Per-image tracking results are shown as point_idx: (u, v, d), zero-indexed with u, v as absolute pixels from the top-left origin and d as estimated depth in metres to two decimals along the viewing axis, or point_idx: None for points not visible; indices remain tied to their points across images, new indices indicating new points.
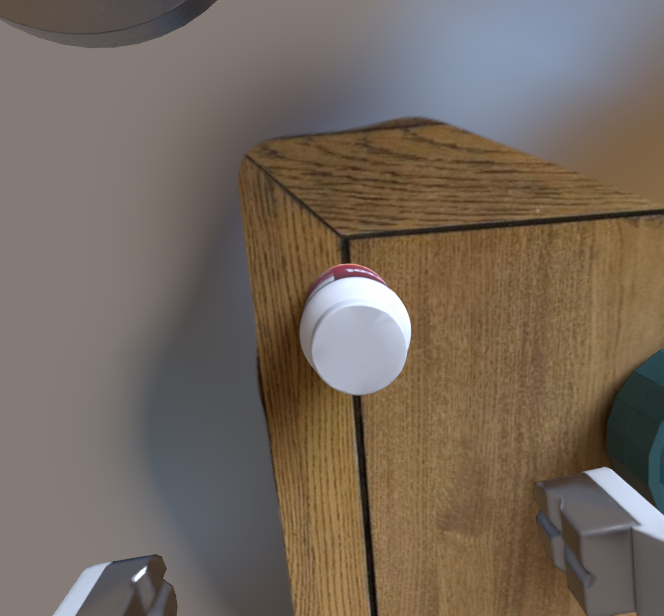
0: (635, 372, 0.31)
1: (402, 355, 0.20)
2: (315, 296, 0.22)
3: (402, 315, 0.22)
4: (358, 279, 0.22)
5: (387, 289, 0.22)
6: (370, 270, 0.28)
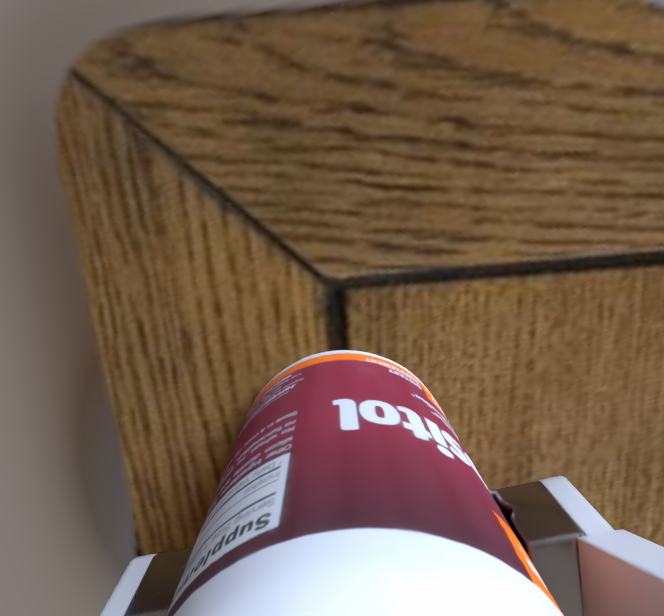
0: None
1: None
2: None
3: None
4: (387, 570, 0.05)
5: (526, 614, 0.05)
6: (402, 377, 0.11)
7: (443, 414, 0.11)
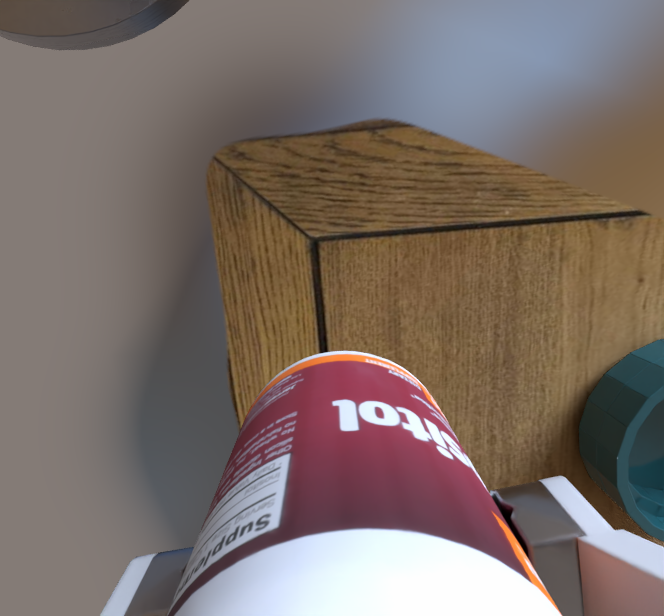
0: (607, 375, 0.31)
1: None
2: None
3: None
4: (386, 570, 0.05)
5: (525, 614, 0.05)
6: (401, 377, 0.11)
7: (442, 415, 0.11)
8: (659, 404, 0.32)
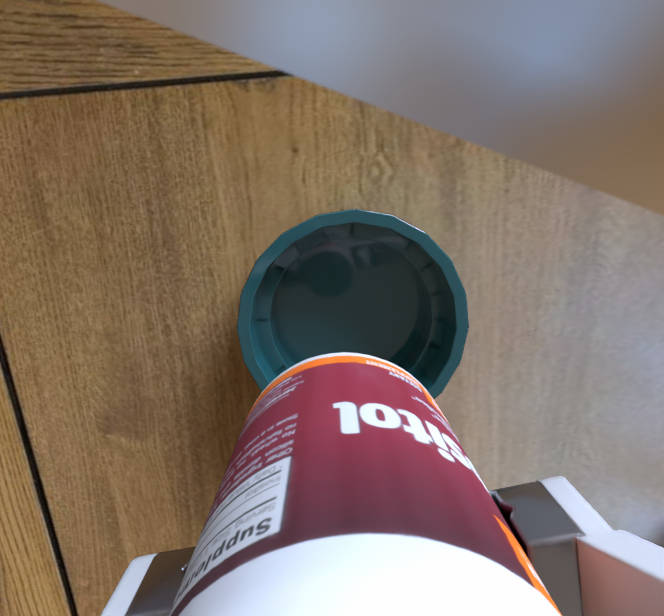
0: None
1: None
2: None
3: None
4: (388, 576, 0.05)
5: None
6: (402, 379, 0.11)
7: (443, 416, 0.11)
8: (331, 288, 0.30)
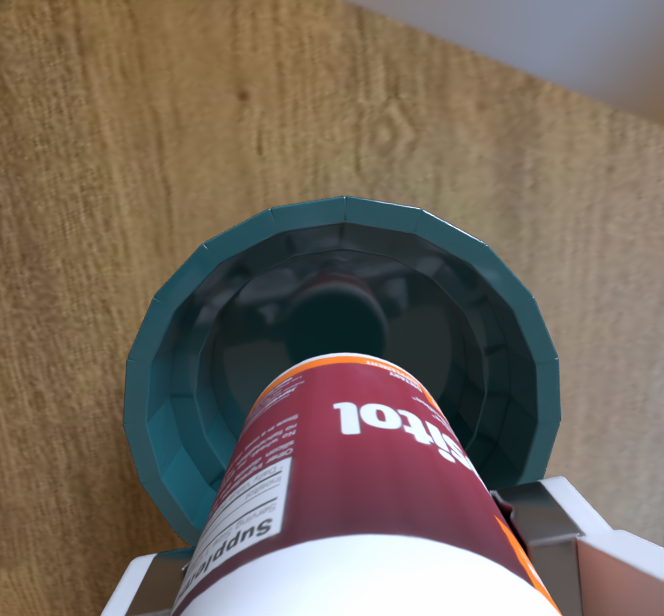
0: None
1: None
2: None
3: None
4: (389, 577, 0.05)
5: None
6: (402, 380, 0.11)
7: (444, 417, 0.11)
8: (308, 334, 0.18)
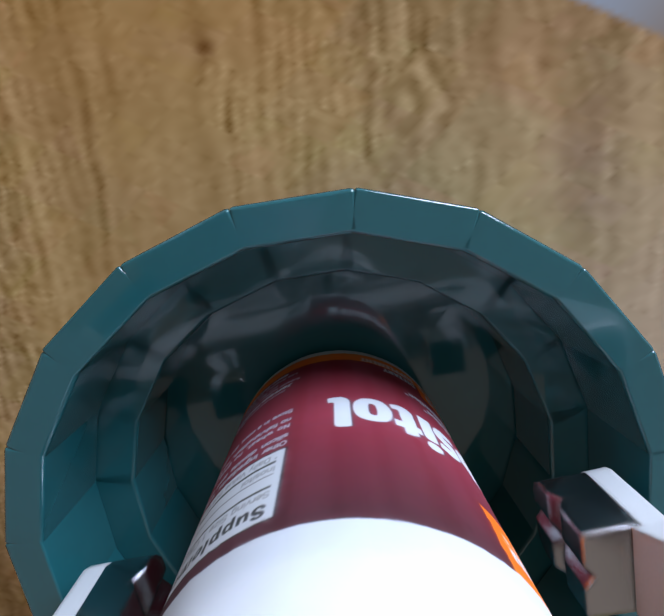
0: None
1: None
2: None
3: None
4: (374, 556, 0.05)
5: (506, 598, 0.05)
6: (396, 376, 0.11)
7: (436, 413, 0.11)
8: None
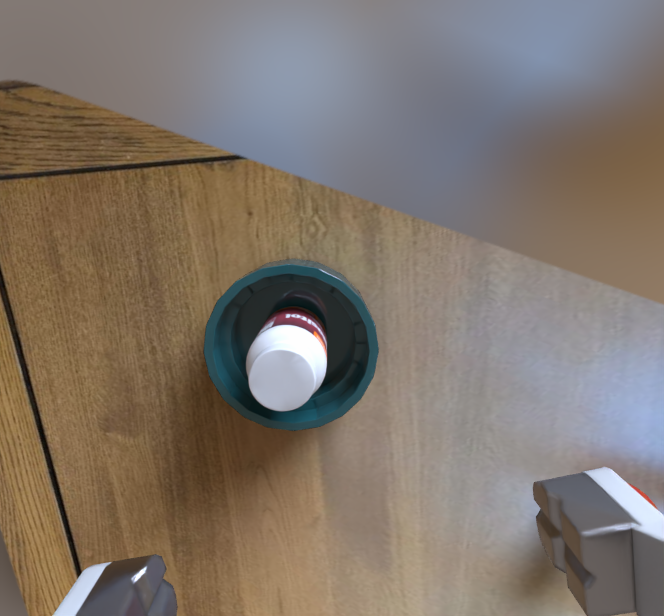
0: None
1: (312, 383, 0.29)
2: (256, 339, 0.31)
3: (318, 353, 0.31)
4: (286, 327, 0.31)
5: (307, 334, 0.31)
6: (308, 312, 0.37)
7: (320, 323, 0.37)
8: None
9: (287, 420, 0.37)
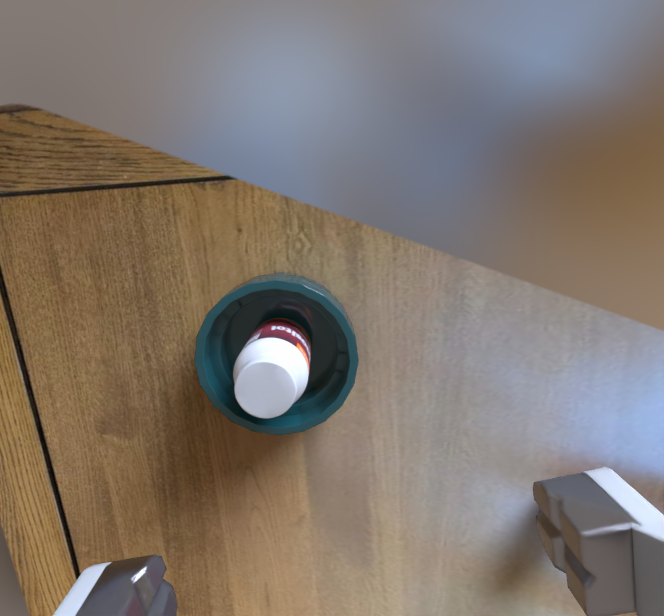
0: None
1: (293, 393, 0.31)
2: (242, 351, 0.34)
3: (299, 364, 0.33)
4: (271, 340, 0.33)
5: (290, 346, 0.33)
6: (293, 324, 0.40)
7: (304, 334, 0.40)
8: None
9: (273, 425, 0.39)
